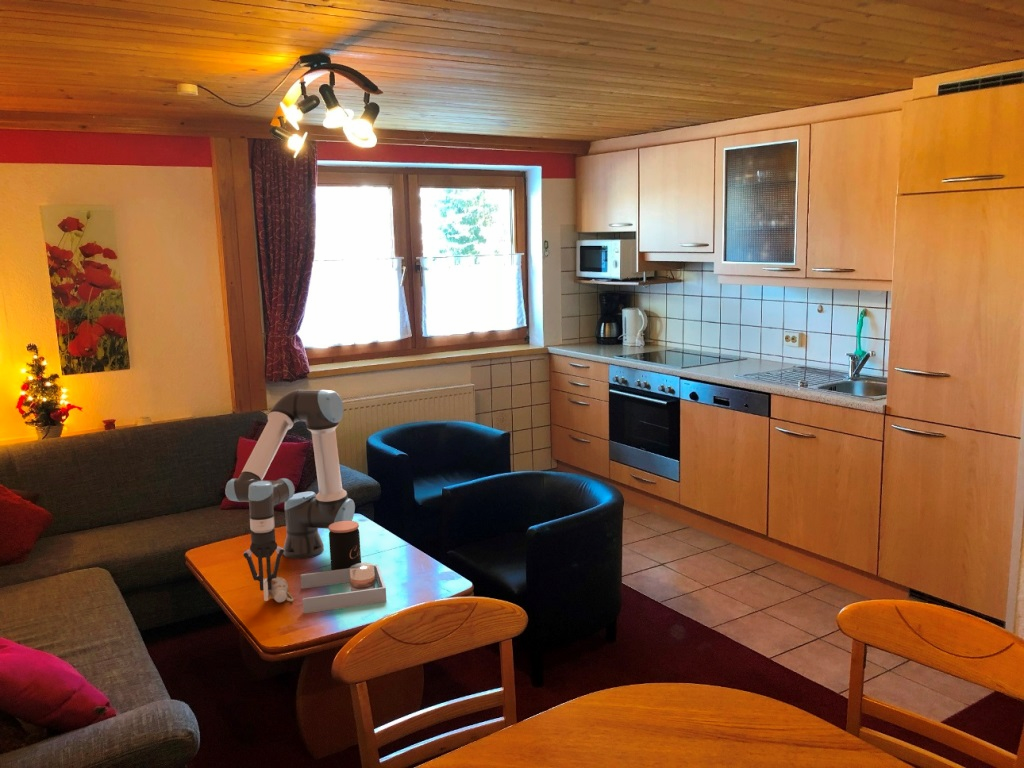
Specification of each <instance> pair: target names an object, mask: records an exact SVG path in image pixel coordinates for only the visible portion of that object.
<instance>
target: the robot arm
mask: <svg viewBox="0 0 1024 768" xmlns="http://www.w3.org/2000/svg"><path fill="white" fill-rule="evenodd" d="M344 411H345V410H344V403H343V400H342V398H341V396H340V394H339V393H338V392H336V391H335V390H331V389H330V390H328V389H294V390H292V391H289V392H287V393H285V395H283V396H282V397H281V398H280V399H278V400H277V402H275V404H273V406H272V407H271V409H270V411H269V413H268V414H267V422H266V425H264V429H263V430H262V432H261V434H260V436H259V437H258V440H257V442H256V444H255V446H254V447H253V449H252V451H251V453H250V455H249V457H248V458H247V461H246V463H245V464H244V467H243V469H242V470H241V472H240V474H239V476H238V478H231V479H230V480H228V481H227V482H226V485H225V489H224V490H225V492H224V493H225V496H226V497H227V499H228V501H233V502H239V503H242V502H243V503H244V502H246V503H248V506H249V527H250V530H251V531H250V546H249V549H247V550H244V552H243V555H242V556H243V557H244V558H245V559H246V561H247V565H248V567H249V570H250V573H251V576H252V579H253V581H258V582H259V590H260V591H263V601H264V602H267V601H269V598H270V596H269V595H268V590H271V588H272V583H271V580H272V579H274V578H276V577H278V574H279V573H278V572H279V566H280V564H281V558H282V556H284V557H285V558H287V559H291V560H304V559H308V558H309V559H310V558H313V557H316V556H319V555H321V554H322V553H323V552H324V551H325V550H324V543H323V540H322V537H321V535H320V533H319V530H318V529H324V530H325V529H326V530H329V525H331V524H332V523H335V522H339V521H353V519H354V516H355V509H356V505H355V502H354V499H351V498H349V497H348V492H347V490H345V489H344V488H343V485H342V475H341V465H340V458H339V449H338V441H337V433H336V429H337V427H339V425H340V422H341V420H342V419H343V417H344ZM297 422H305V425H306V429H307V430H308V431H310V432H311V437H312V438H311V439H312V446H313V453H314V454H313V455H314V462H315V464H314V465H315V470H316V477H317V488H318V493H317V494H316V492H314V491H309V490H308V491H302V492H297V493H295V490H296V489H295V485H294V484H293V481H292V480H290V479H289V478H286V477H282V478H278V479H276V480H266V479H264V478H265V476H266V474H267V472H268V471H269V470H268V469H269V468H270V466H271V463H272V462H273V460H274V458H275V456H276V455H277V452H278V450H279V449H280V446H281V444H282V442H283V440H284V438H285V437H286V434H287V432H288V431H289V430H291V429H292V428H293V426H294V424H296V423H297ZM283 503H284V515H285V526H286V527H285V529H286V536H285V541H284V545H283V547H282V546H278V544H277V542H276V530H275V526H276V523H275V510H274V509H275V507H277V506H278V505H281V504H283ZM275 552H276V559H275V562H274V568H273V572H272V567H271V566H272V565H271V564H272V563H271V557H272V555H273V554H274V553H275ZM252 554H253V555H254V556H255V557H256V558H257V564H258V571H257V570H256V566H255V564H254V560H253V558H252V556H253V555H252ZM263 558H265V562H266V578H264V565H263ZM257 572H258V573H257Z"/></svg>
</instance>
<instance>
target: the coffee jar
mask: <svg viewBox="0 0 1024 768" xmlns="http://www.w3.org/2000/svg"><path fill="white" fill-rule="evenodd" d="M359 527H360V524H359V522H357V521H355V520H352V521H339V522H335V523H332V524H331V525H329V529H328V531H329V533H328V538H329V556H330V571H332V570H340V569H347V568H350V567H351V566H352V565H354V564H358V563H362V553H361V541H360V540H361V538H360V537H361V536H360V535H361V534H360V530H359Z"/></svg>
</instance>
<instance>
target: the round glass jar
mask: <svg viewBox="0 0 1024 768" xmlns="http://www.w3.org/2000/svg"><path fill="white" fill-rule="evenodd" d="M374 565H375V564H373V563H370V562H361V563H358V564H354V565H352V566H351V567H350V582H349V583H350V592H352V591H360V590H367V589H374V588H376V579H375V574H374Z"/></svg>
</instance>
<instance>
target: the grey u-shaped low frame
mask: <svg viewBox="0 0 1024 768" xmlns="http://www.w3.org/2000/svg"><path fill="white" fill-rule="evenodd" d="M373 565H374V574H375V580H376V581H377V583H378V587H375V588H374V589H367V590H360V591H352V592H351V591H346V592H339V593H331V594H324V595H317V596H311V597H303V598H302V600H301V601H302V612H303V614H304V615H305V614H311V613H317V612H322V611H330V610H337V609H344V608H350V607H357V606H365V605H370V604H376V603H377V604H378V603H383V602H385V603H386V602H387V587H386V585H385V582H384V578H383V576H382V573H381V570H380V567H379V564H373ZM299 577H300V586H301V587H300V588H301V589H302V590H303V589H309V588H311V589H312V588H316V587H317V588H318V587H326V586H330V585H331V584H333V585H338V583H340V584H345V583H346V582H347V583H351V582H350V568H347V569H340V570H332V571H331V570H326V571H318V572H311V573H303V574H300V576H299ZM347 583H346V584H347ZM331 586H332V585H331Z"/></svg>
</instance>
